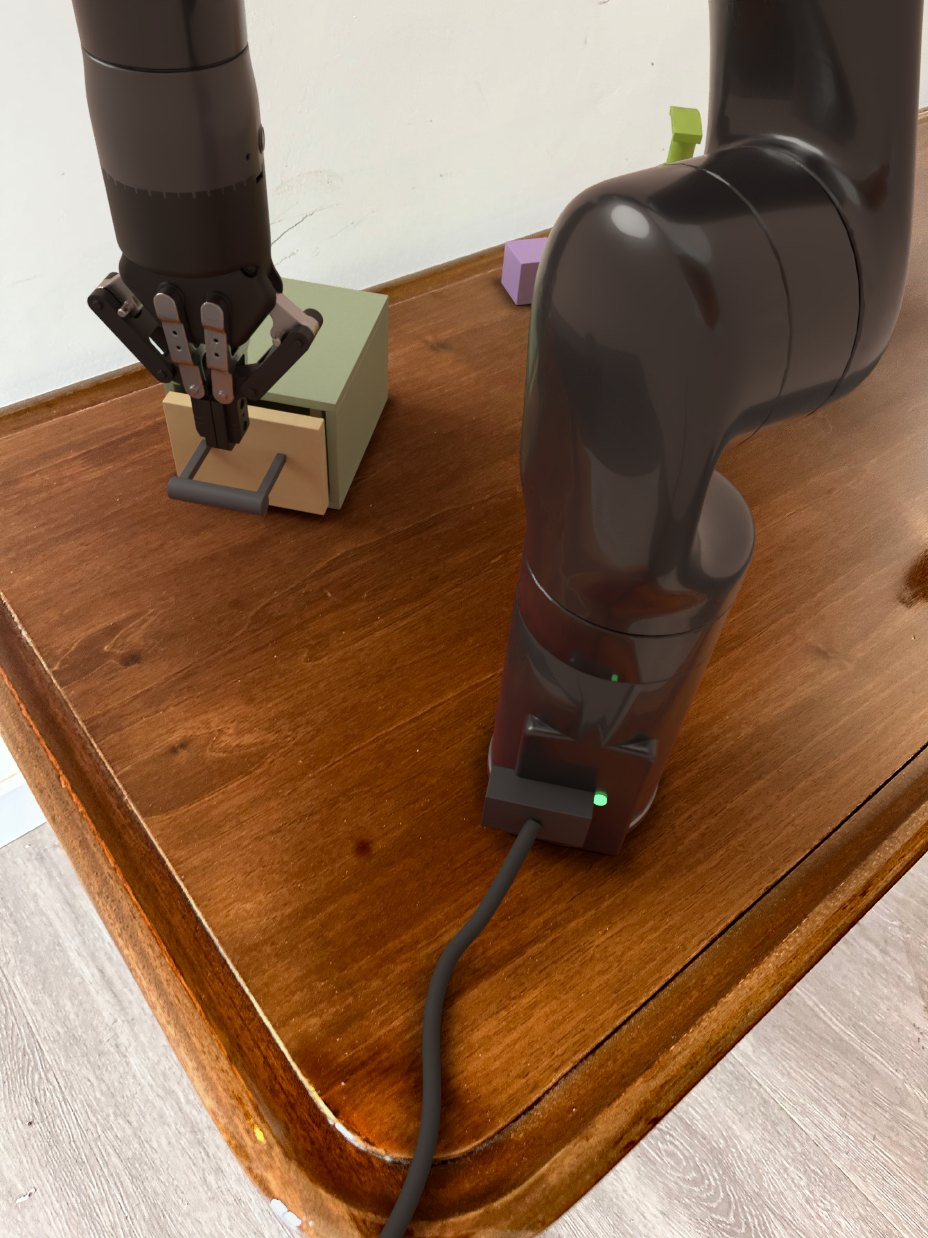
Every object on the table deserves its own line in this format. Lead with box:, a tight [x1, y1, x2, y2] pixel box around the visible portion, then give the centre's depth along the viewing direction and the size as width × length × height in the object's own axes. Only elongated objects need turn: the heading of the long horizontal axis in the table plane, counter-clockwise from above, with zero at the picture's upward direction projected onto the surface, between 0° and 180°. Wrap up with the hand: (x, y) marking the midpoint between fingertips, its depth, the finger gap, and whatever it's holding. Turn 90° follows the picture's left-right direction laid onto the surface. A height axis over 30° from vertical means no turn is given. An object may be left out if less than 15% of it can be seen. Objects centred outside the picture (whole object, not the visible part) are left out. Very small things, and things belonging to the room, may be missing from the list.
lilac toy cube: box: [500, 236, 548, 306], centre depth 85 cm, size 4×4×4 cm
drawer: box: [162, 391, 329, 517], centre depth 64 cm, size 18×10×7 cm, turn 169°
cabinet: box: [163, 276, 390, 510], centre depth 67 cm, size 13×11×9 cm
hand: (225, 440), depth 57 cm, fingers closed
